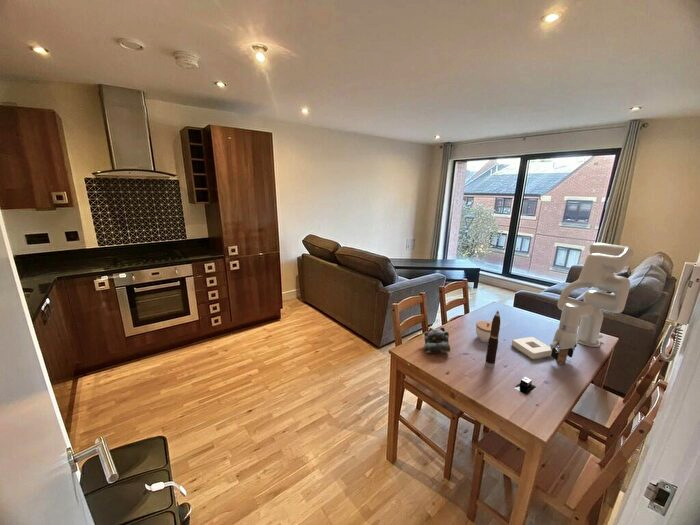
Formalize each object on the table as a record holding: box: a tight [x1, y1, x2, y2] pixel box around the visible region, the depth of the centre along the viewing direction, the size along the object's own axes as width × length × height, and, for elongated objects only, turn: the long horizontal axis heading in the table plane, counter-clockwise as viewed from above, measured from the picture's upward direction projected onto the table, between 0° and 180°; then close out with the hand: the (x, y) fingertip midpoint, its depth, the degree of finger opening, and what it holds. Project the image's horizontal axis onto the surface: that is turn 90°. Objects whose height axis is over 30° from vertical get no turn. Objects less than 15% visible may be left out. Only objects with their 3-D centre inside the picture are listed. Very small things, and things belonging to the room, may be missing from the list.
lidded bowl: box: [475, 320, 501, 343], centre depth 169 cm, size 13×13×11 cm
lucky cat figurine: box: [423, 327, 451, 354], centre depth 158 cm, size 15×12×14 cm
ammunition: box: [484, 310, 501, 369], centre depth 142 cm, size 5×5×30 cm
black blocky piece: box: [513, 376, 537, 396], centre depth 129 cm, size 12×7×5 cm, turn 124°
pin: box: [555, 349, 568, 365], centre depth 148 cm, size 4×4×8 cm
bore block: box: [511, 336, 552, 361], centre depth 158 cm, size 14×14×4 cm
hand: (561, 357), depth 148 cm, fingers open, 9 cm apart
